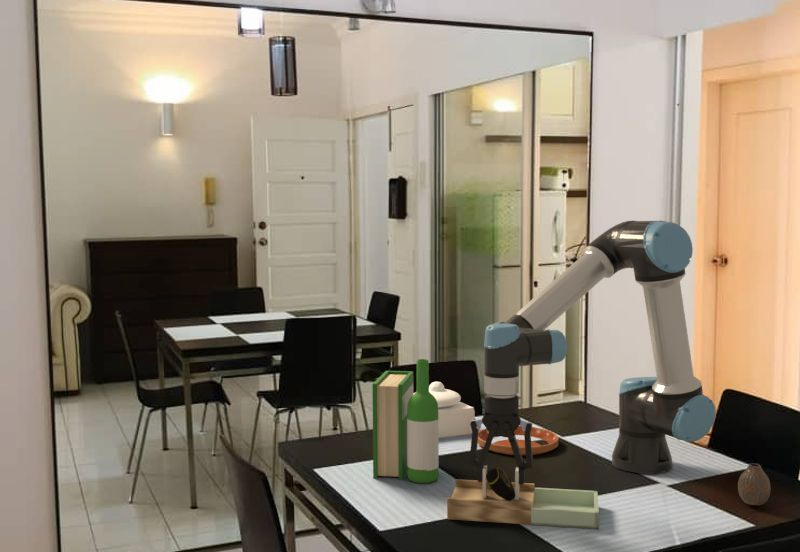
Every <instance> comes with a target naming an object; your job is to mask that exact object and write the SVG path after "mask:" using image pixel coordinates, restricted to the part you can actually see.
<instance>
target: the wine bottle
mask: <svg viewBox="0 0 800 552" xmlns="http://www.w3.org/2000/svg"><path fill="white" fill-rule="evenodd" d="M429 364H430V363H429V360H428V359H426V358H424V359H423V358H422V359H421V358H420V359H419V358H418V359H417V360H416V391H415V392H416V393H415V392H414V393H415V394H414V393H413V394H414V395H412V397H411V398H410V400H409V402H408V405H407V472H406V474H407V478H408V480H409V481H411V482H413V483H417V484H429V483H433V482H436V480H438V478H439V463H440V461H439V456H440V455H439V448H440V447H439V441H440V440H439V439H440V438H439V437H438V403H437V401H436V399H435V397H434V396H433V395H432V394H431V393H430V392H429V386H430V384H429V383H430V375H429V370H430V366H429Z"/></svg>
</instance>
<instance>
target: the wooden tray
mask: <svg viewBox="0 0 800 552" xmlns="http://www.w3.org/2000/svg"><path fill="white" fill-rule="evenodd" d="M511 483H512V485H513V488H514V491H515V481H514V482H513V481H511ZM482 486H483V482H478V479H477V480H474V479H459V478H458V479H457V478H456V479H455V487H454V489H453V492H452V494H451V497H447V498H446V501H447V502H446V503H447V504H446V505H447V506H446V508H447V511H446V514H447V515H446V517H447V518H446V519H447V520H459V521H471V522H473V521H474V522H483V523H484V522H487V523H499V524H500V523H503V524H516V525H520V524H521V525H531V508H533V507H534V488H535V483H532V482H531V483H527V482H524V484H519V500H515V498H514V499H512V500H511V501H507V500H505V499H503V498H501V497H499V496H498V495H497V494H496V493H495V492H494V491H493V490H492V489H490V487H489V484H488V482H487V496H486V498H482ZM531 526H532V525H531Z"/></svg>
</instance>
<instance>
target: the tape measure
mask: <svg viewBox="0 0 800 552" xmlns="http://www.w3.org/2000/svg"><path fill="white" fill-rule="evenodd" d="M486 479H487V482H488V484H489V487H490V489H492V490H493V491H494V492H495V493H496V494H497V495H498V496H499V497H501V498H503V499H505V500H507V501H511V500H512V499H514V498H515V491H514V488H513V485H512V483H511V482H512V481H511V479H510V476H509V474H508V473H506V472H505V471H504V470H503V469H502V468H500V467H497V466H495V467H492V468H491V469H490V470H487V474H486Z"/></svg>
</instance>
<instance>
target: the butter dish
mask: <svg viewBox="0 0 800 552" xmlns="http://www.w3.org/2000/svg"><path fill="white" fill-rule="evenodd" d="M429 392H430V393H431V394H432V395H433V396H434V397H435V399H436V401H437V403H438V437H439V439H440V438H441V439H442V438H448V437H457V436H463V435H472V429H471V425H470V423H471V421H472V419H476V417H475V416H476V415H475V413H476V411H475V407H474V406H470V405H468V404H466V403H464V402H461V399H462V397H461V395H460V394H459V393H458V392H456V391H454V390H451V389H447V388H445V385H444V384H443V383H442V382H441V381H433V382H431V383H430V384H429ZM415 393H416V391H415V392H413V395H414V394H415Z"/></svg>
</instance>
